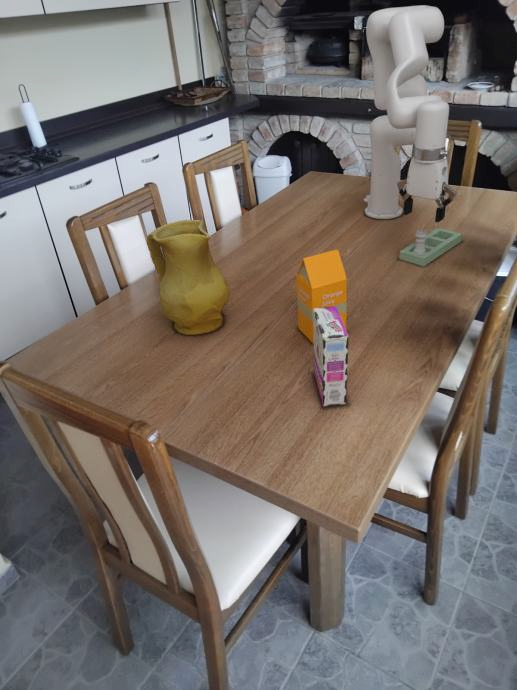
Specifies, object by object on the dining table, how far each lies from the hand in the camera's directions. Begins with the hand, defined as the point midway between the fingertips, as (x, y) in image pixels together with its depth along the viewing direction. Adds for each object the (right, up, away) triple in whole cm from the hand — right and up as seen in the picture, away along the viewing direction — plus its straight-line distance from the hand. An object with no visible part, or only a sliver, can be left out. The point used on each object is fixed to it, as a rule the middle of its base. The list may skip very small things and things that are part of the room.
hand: (423, 217), depth 148 cm
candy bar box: (-31, -44, -38) cm, 66 cm away
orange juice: (-30, -32, -20) cm, 48 cm away
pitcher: (-61, -29, -11) cm, 68 cm away
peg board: (+6, -7, +11) cm, 14 cm away
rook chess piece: (+1, -10, +7) cm, 13 cm away
